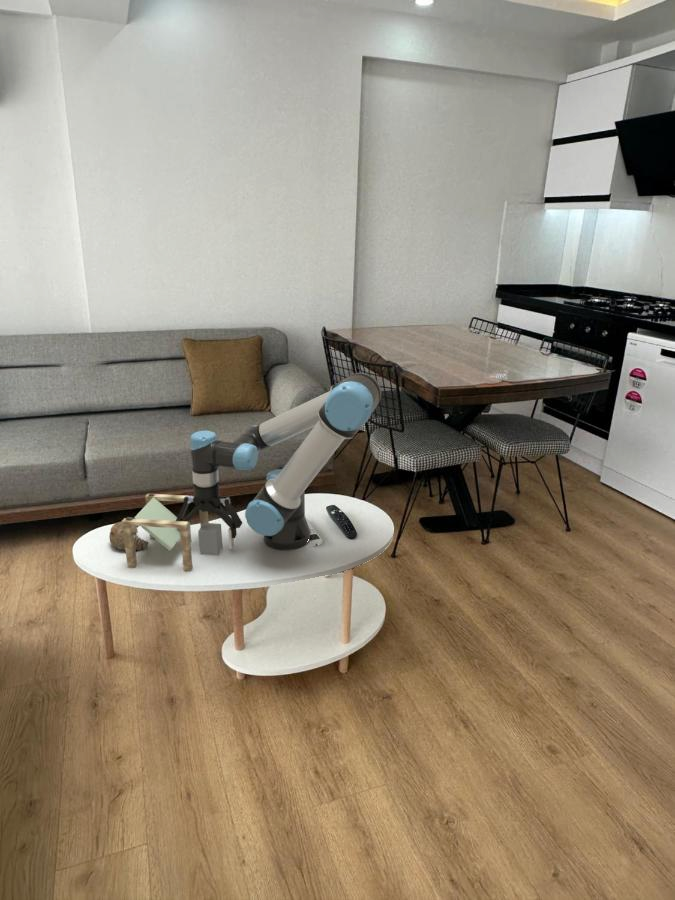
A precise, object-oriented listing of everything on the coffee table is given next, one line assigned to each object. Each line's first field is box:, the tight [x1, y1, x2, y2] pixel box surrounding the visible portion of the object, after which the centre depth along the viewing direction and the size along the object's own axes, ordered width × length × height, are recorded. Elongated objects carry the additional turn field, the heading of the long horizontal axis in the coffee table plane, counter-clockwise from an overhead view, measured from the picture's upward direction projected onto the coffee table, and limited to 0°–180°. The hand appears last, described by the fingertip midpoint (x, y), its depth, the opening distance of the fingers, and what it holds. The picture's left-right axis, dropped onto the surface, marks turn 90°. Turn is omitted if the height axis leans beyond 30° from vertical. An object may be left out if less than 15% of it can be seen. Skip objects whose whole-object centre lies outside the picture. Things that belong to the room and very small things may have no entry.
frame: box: [121, 492, 210, 572], centre depth 183 cm, size 19×19×16 cm
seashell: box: [109, 521, 149, 552], centre depth 190 cm, size 14×10×10 cm
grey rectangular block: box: [197, 522, 224, 556], centre depth 186 cm, size 6×6×8 cm
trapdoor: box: [133, 497, 181, 551], centre depth 183 cm, size 14×14×4 cm
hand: (210, 545), depth 187 cm, fingers open, 13 cm apart
